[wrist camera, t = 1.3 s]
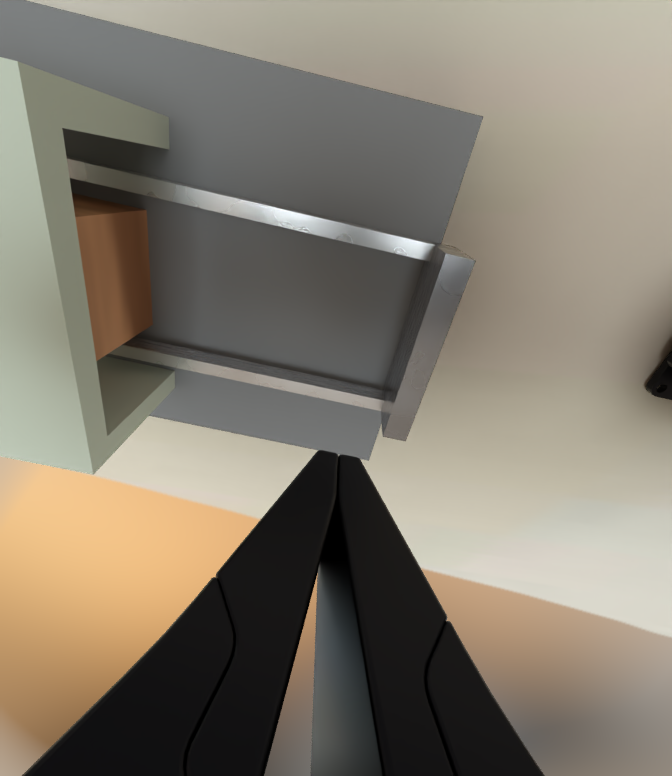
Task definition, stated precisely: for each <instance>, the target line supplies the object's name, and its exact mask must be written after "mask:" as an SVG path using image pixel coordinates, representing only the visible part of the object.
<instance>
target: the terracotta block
mask: <svg viewBox="0 0 672 776" xmlns="http://www.w3.org/2000/svg"><path fill="white" fill-rule="evenodd" d="M72 198H73V205H74V212H75V219H76V226H77V232H78V239H79V246H80V253H81V260H82V267H83V273H84V280H85V287H86V294H87V301H88V308H89V314H90V321H91V328H92V335H93V342H94V349H95V355H96V361H98V360H99V359H101V358H102V357H104V356H105V355H107V354H108V353H110V352H111V351H113V350H114V349H116V348H118V347H119V346H121V345H122V344H124V343H125V342H127V341H128V340H130V339H131V338H133V337H134V336H136V335H138V334H139V333H141V332H142V331H144V330H145V329H147V328H148V327H150V326H151V325H153V319H152V301H151V282H150V264H149V246H148V227H147V210H144V209H140V208H136V207H131V206H127V205H123V204H118V203H114V202H110V201H105V200H101V199H97V198H92V197H88V196H84V195H79V194H75V193H72Z"/></svg>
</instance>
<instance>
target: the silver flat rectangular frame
mask: <svg viewBox="0 0 672 776" xmlns="http://www.w3.org/2000/svg"><path fill="white" fill-rule="evenodd" d="M66 157H67V164H68V171H69V178H73V179H77V180H81V181H86V182H90V183H94V184H99V185H103V186H107V187H112V188H116V189H120V190H124V191H129V192H133V193H137V194H142V195H146V196H150V197H155V198H159V199H163V200H167V201H172V202H176V203H180V204H185V205H189V206H193V207H198V208H202V209H206V210H210V211H215V212H219V213H223V214H228V215H232V216H236V217H241V218H245V219H249V220H253V221H258V222H262V223H266V224H271V225H275V226H279V227H283V228H288V229H292V230H296V231H301V232H305V233H309V234H314V235H318V236H322V237H326V238H331V239H335V240H339V241H344V242H348V243H352V244H357V245H361V246H365V247H369V248H374V249H378V250H382V251H387V252H391V253H395V254H400V255H404V256H408V257H412V258H417V259H421V260H424V263H423V266H422V270H421V273H420V276H419V279H418V282H417V285H416V288H415V292H414V295H413V298H412V301H411V304H410V307H409V310H408V313H407V317H406V320H405V323H404V326H403V329H402V332H401V335H400V339H399V342H398V345H397V348H396V351H395V354H394V357H393V361H392V364H391V367H390V370H389V373H388V376H387V379H386V383H385V386H384V389H383V390H380V389H375V388H371V387H366V386H361V385H357V384H352V383H347V382H343V381H338V380H333V379H329V378H324V377H319V376H315V375H310V374H305V373H301V372H296V371H291V370H287V369H282V368H277V367H273V366H268V365H263V364H259V363H254V362H249V361H245V360H240V359H235V358H231V357H226V356H221V355H217V354H212V353H207V352H203V351H198V350H193V349H189V348H184V347H179V346H175V345H170V344H165V343H161V342H156V341H151V340H147V339H142V338H137V337H133V338H131V339H130V340H128V341H127V342H125V343H124V344H122V345H121V346H119V347H118V348H116V349H114V350H113V351H111V352H110V353H108V354H113V355H118V356H122V357H127V358H132V359H137V360H141V361H146V362H151V363H156V364H160V365H165V366H170V367H175V368H179V369H184V370H189V371H193V372H198V373H203V374H208V375H212V376H217V377H222V378H227V379H231V380H236V381H241V382H246V383H250V384H255V385H260V386H264V387H269V388H274V389H279V390H283V391H288V392H293V393H298V394H302V395H307V396H312V397H316V398H321V399H326V400H331V401H335V402H340V403H345V404H350V405H354V406H359V407H364V408H369V409H373V410H378V411H381V419H382V431H383V437H388V438H392V439H397V440H402V441H406V439H407V436H408V434H409V431H410V428H411V426H412V423H413V421H414V418H415V415H416V413H417V410H418V408H419V405H420V403H421V400H422V397H423V395H424V392H425V390H426V387H427V385H428V382H429V379H430V377H431V374H432V372H433V369H434V366H435V364H436V361H437V359H438V356H439V354H440V351H441V348H442V346H443V343H444V341H445V338H446V336H447V333H448V330H449V328H450V325H451V323H452V320H453V317H454V315H455V312H456V310H457V307H458V305H459V302H460V299H461V297H462V294H463V292H464V289H465V287H466V284H467V281H468V279H469V276H470V274H471V271H472V269H473V266H474V263H475V261H476V260H474V259H472V258H471V257H469V256H468V255H466V254H465V253H463V252H461V251H460V250H458V249H457V248H455V247H452V246H447V245H443V244H439V243H435V242H430V241H426V240H422V239H418V238H413V237H409V236H405V235H401V234H396V233H392V232H388V231H384V230H379V229H375V228H371V227H367V226H362V225H358V224H354V223H350V222H345V221H341V220H337V219H333V218H328V217H324V216H320V215H316V214H311V213H307V212H303V211H299V210H294V209H290V208H286V207H282V206H277V205H273V204H269V203H265V202H260V201H256V200H252V199H248V198H243V197H239V196H235V195H231V194H226V193H222V192H218V191H214V190H209V189H205V188H201V187H197V186H192V185H188V184H184V183H180V182H175V181H171V180H167V179H163V178H158V177H154V176H150V175H146V174H141V173H137V172H133V171H129V170H124V169H120V168H116V167H112V166H107V165H103V164H99V163H95V162H90V161H86V160H82V159H78V158H73V157H69V156H66Z"/></svg>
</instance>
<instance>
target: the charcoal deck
mask: <svg viewBox="0 0 672 776" xmlns="http://www.w3.org/2000/svg"><path fill="white" fill-rule="evenodd" d="M0 57H2V58H6V59H10V60H14V61H18V62H21V63H23V64H26V65H29V66H32V67H34V68H37V69H40V70H42V71H45V72H48V73H51V74H53V75H56V76H59V77H61V78H64V79H67V80H70V81H72V82H75V83H78V84H80V85H83V86H86V87H88V88H91V89H94V90H97V91H99V92H102V93H105V94H107V95H110V96H113V97H116V98H118V99H121V100H124V101H126V102H129V103H132V104H135V105H137V106H140V107H143V108H145V109H148V110H151V111H154V112H156V113H159V114H162V115H164V116H167V117H169V149H165V148H160V147H155V146H150V145H145V144H140V143H135V142H130V141H125V140H120V139H115V138H110V137H105V136H100V135H95V134H90V133H85V132H80V131H76V130H71V129H66V128H62V130H63V137H64V143H65V150H66V156H69V157H73V158H78V159H82V160H86V161H90V162H95V163H99V164H103V165H107V166H112V167H116V168H120V169H124V170H129V171H133V172H137V173H141V174H146V175H150V176H154V177H158V178H163V179H167V180H171V181H175V182H180V183H184V184H188V185H192V186H197V187H201V188H205V189H209V190H214V191H218V192H222V193H226V194H231V195H235V196H239V197H243V198H248V199H252V200H256V201H260V202H265V203H269V204H273V205H277V206H282V207H286V208H290V209H294V210H299V211H303V212H307V213H311V214H316V215H320V216H324V217H328V218H333V219H337V220H341V221H345V222H350V223H354V224H358V225H362V226H367V227H371V228H375V229H379V230H384V231H388V232H392V233H396V234H401V235H405V236H409V237H413V238H418V239H422V240H426V241H430V242H435V243H439V244H441V242H442V239H443V236H444V233H445V230H446V227H447V224H448V221H449V218H450V215H451V212H452V209H453V206H454V203H455V200H456V197H457V194H458V191H459V188H460V185H461V182H462V179H463V176H464V173H465V170H466V167H467V164H468V161H469V158H470V155H471V152H472V149H473V146H474V143H475V140H476V137H477V134H478V131H479V128H480V125H481V122H482V119H483V116H479V115H475V114H471V113H467V112H463V111H459V110H455V109H451V108H447V107H443V106H440V105H436V104H432V103H428V102H424V101H420V100H416V99H412V98H408V97H404V96H400V95H396V94H392V93H388V92H384V91H380V90H376V89H373V88H369V87H365V86H361V85H357V84H353V83H349V82H345V81H341V80H337V79H333V78H329V77H325V76H321V75H317V74H313V73H309V72H306V71H302V70H298V69H294V68H290V67H286V66H282V65H278V64H274V63H270V62H266V61H262V60H258V59H254V58H250V57H246V56H242V55H238V54H235V53H231V52H227V51H223V50H219V49H215V48H211V47H207V46H203V45H199V44H195V43H191V42H187V41H183V40H179V39H175V38H171V37H168V36H164V35H160V34H156V33H152V32H148V31H144V30H140V29H136V28H132V27H128V26H124V25H120V24H116V23H112V22H108V21H104V20H101V19H97V18H93V17H89V16H85V15H81V14H77V13H73V12H69V11H65V10H61V9H57V8H53V7H49V6H45V5H41V4H37V3H33V2H30V1H26V0H0ZM70 184H71V191H72V193H75V194H79V195H84V196H88V197H92V198H97V199H101V200H105V201H110V202H114V203H118V204H123V205H127V206H131V207H136V208H140V209H144V210H147V227H148V246H149V264H150V282H151V301H152V319H153V325H151V326H150V327H148V328H147V329H145V330H144V331H142V332H141V333H139V334H138V335H136V336H134V337H137V338H142V339H147V340H151V341H156V342H161V343H165V344H170V345H175V346H179V347H184V348H189V349H193V350H198V351H203V352H207V353H212V354H217V355H221V356H226V357H231V358H235V359H240V360H245V361H249V362H254V363H259V364H263V365H268V366H273V367H277V368H282V369H287V370H291V371H296V372H301V373H305V374H310V375H315V376H319V377H324V378H329V379H333V380H338V381H343V382H347V383H352V384H357V385H361V386H366V387H371V388H375V389H380V390H383V389H384V386H385V383H386V379H387V376H388V373H389V370H390V367H391V364H392V361H393V357H394V354H395V351H396V348H397V345H398V342H399V339H400V335H401V332H402V329H403V326H404V323H405V320H406V317H407V313H408V310H409V307H410V304H411V301H412V298H413V295H414V292H415V288H416V285H417V282H418V279H419V276H420V273H421V270H422V266H423V263H424V260H421V259H417V258H412V257H408V256H404V255H400V254H395V253H391V252H387V251H382V250H378V249H374V248H369V247H365V246H361V245H357V244H352V243H348V242H344V241H339V240H335V239H331V238H326V237H322V236H318V235H314V234H309V233H305V232H301V231H296V230H292V229H288V228H283V227H279V226H275V225H271V224H266V223H262V222H258V221H253V220H249V219H245V218H241V217H236V216H232V215H228V214H223V213H219V212H215V211H210V210H206V209H202V208H198V207H193V206H189V205H185V204H180V203H176V202H172V201H167V200H163V199H159V198H155V197H150V196H146V195H142V194H137V193H133V192H129V191H124V190H120V189H116V188H112V187H107V186H103V185H99V184H94V183H90V182H86V181H81V180H77V179H73V178H70ZM105 356H106V357H111V358H116V359H121V360H125V361H130V362H135V363H139V364H144V365H149V366H154V367H158V368H163V369H168V370H173V371H175V388H174V389H173V390H172V391H171V392H170V393H169V395H168V396H167V397H166V398H165V399H164V400H163V401H162V402H161V403H160V404H159V405H158V406H157V407H156V408H155V409H154V410H153V412H152V413H151V414H150V415H149V416H153V417H158V418H163V419H168V420H173V421H178V422H183V423H188V424H192V425H197V426H202V427H207V428H212V429H217V430H222V431H227V432H232V433H236V434H241V435H246V436H251V437H256V438H261V439H266V440H271V441H276V442H280V443H285V444H290V445H295V446H300V447H305V448H310V449H315V450H325V451H330V452H335V453H337V454H339V455H341V454H344V455H349V456H354V457H358V458H359V459H364V460H369V458H370V455H371V452H372V449H373V446H374V443H375V440H376V437H377V434H378V431H379V428H380V425H381V422H382V419H381V411H378V410H373V409H369V408H364V407H359V406H354V405H350V404H345V403H340V402H335V401H331V400H326V399H321V398H316V397H312V396H307V395H302V394H298V393H293V392H288V391H283V390H279V389H274V388H269V387H264V386H260V385H255V384H250V383H246V382H241V381H236V380H231V379H227V378H222V377H217V376H212V375H208V374H203V373H198V372H193V371H189V370H184V369H179V368H175V367H170V366H165V365H160V364H156V363H151V362H146V361H141V360H137V359H132V358H127V357H122V356H118V355H113V354H107V355H105Z"/></svg>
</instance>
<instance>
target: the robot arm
mask: <svg viewBox="0 0 672 776" xmlns="http://www.w3.org/2000/svg"><path fill="white" fill-rule="evenodd" d="M660 385H661V386H660ZM658 386H660V387H659V388H657V387H658ZM646 390H647V391H648V392H649V393H651V394H652V395H654V396H657V397H661V398H666V399H670V400H672V351H671V352H670V354H669V355H668V356H667V358H666V359H665V360H664V362H663V363H662V364H661V366H660V367H659V369H658V370H657V371H656V373H655V374H654V375H653V377H652V378H651V379H650V381H649V382H648V383H647V385H646ZM317 573H318V578H317V579H318V580H317V582H318V583H317V608H316V636H315V665H314V693H313V722H312V750H311V776H545V775H544V774H543V772H542V771H541V769H540V768H539V766H538V765H537V763H536V762H535V760H534V759H533V757H532V756H531V754H530V753H529V751H528V750H527V748H526V746H525V745H524V743H523V742H522V741H521V739H520V737H519V736H518V734H517V733H516V731H515V729H514V728H513V726H512V725H511V723H510V721H509V720H508V718H507V717H506V715H505V714H504V712H503V710H502V709H501V708H500V706H499V704H498V703H497V701H496V699H495V698H494V696H493V695H492V693H491V692H490V690H489V688H488V686H487V685H486V683H485V681H484V680H483V678H482V676H481V674H480V673H479V671H478V669H477V668H476V666H475V664H474V663H473V661H472V659H471V657H470V656H469V654H468V652H467V651H466V649H465V647H464V645H463V644H462V642H461V640H460V638H459V636H458V635H457V633H456V631H455V629H454V627H453V626H452V624H451V622H450V621H446V620H447V615H446V613H445V611H444V610H443V608H442V606H441V604H440V603H439V601H438V599H437V597H436V595H435V594H434V592H433V590H432V588H431V586H430V584H429V583H428V581H427V579H426V577H425V575H424V574H423V572H422V570H421V568H420V566H419V565H418V563H417V561H416V559H415V557H414V556H413V554H412V552H411V550H410V548H409V547H408V545H407V543H406V541H405V539H404V538H403V536H402V534H401V532H400V530H399V529H398V527H397V525H396V523H395V521H394V520H393V518H392V516H391V514H390V512H389V511H388V509H387V507H386V505H385V503H384V502H383V500H382V498H381V496H380V494H379V493H378V491H377V489H376V487H375V485H374V484H373V482H372V480H371V478H370V476H369V475H368V473H367V471H366V469H365V467H364V466H363V464H362V462H361V460H360V459H359V458H358V457H354V456H349V455H344V454H341V455H339V457H338V454H337V453H335V452H330V451H325V450H319V451H317V453H316V454H315V455H314V456H313V457H312V459H311V460H310V461H309V462H308V463H307V465H306V466H305V467H304V468H303V469H302V471H301V472H300V473H299V474H298V475H297V477H296V478H295V479H294V480H293V481H292V483H291V484H290V485H289V486H288V487H287V489H286V490H285V491H284V492H283V494H282V495H281V496H280V497H279V498H278V500H277V501H276V502H275V503H274V504H273V506H272V507H271V508H270V509H269V510H268V512H267V513H266V514H265V515H264V516H263V518H262V519H261V520H260V521H259V522H258V524H257V525H256V526H255V527H254V529H253V530H252V531H251V532H250V533H249V535H248V536H247V537H246V538H245V539H244V541H243V542H242V543H241V544H240V546H239V547H238V548H237V549H236V550H235V551H234V553H233V554H232V555H231V556H230V557H229V559H228V560H227V561H226V562H225V563H224V565H223V566H222V567H221V568H220V570H219V571H218V572H217V574H216V578H215V577H213V578H212V579H211V580H210V581H209V582H208V584H207V585H206V586H205V587H204V588H203V590H202V591H201V592H200V593H199V594H198V596H197V597H196V598H195V599H194V601H192V603H191V604H190V605H189V606H188V607H187V608H186V609H185V611H184V612H183V613H182V614H181V615H180V616H179V617H178V619H177V620H176V621H175V622H174V623H173V624H172V626H170V628H169V629H168V630H167V631H166V632H165V633H164V634H163V635H162V636H161V637H160V638H159V640H158V641H157V642H156V643H155V644H154V645H153V646H152V647H151V648H150V649H149V650H148V651H147V652H146V653H145V654H144V655H143V656H142V657H141V658H140V659H139V660H138V661H137V662H136V663H135V664H134V665H133V666H132V668H130V669H129V670H128V671H127V673H126V674H125V675H124V676H123V677H122V678H121V679H119V681H118V682H116V684H114V686H112V688H110V689H109V690H108V691H107V692H106V693H105V695H103V696H102V697H101V698H100V699H99V700H98V701H97V702H96V703H95V704H94V705H93V706H92V707H91V708H90V709H89V710H88V711H87V712H86V713H85V714H84V715H83V716H82V717H81V718H80V719H79V720H78V721H77V722H76V723H75V724H74V725H73V726H72V727H71V728H70V729H69V730H68V731H67V732H66V733H65V734H64V735H63V736H62V737H61V738H60V739H59V740H58V741H57V742H56V743H55V744H54V745H52V746H51V747H50V748H49V749H48V750H47V751H46V752H45V753H44V754H43V755H42V756H41V757H40V759H38V760H37V761H36V762H35V763H34V764H33V765H32V766H31V767H30V768H29V769H28V770H27V771H26V772H25V773H24V774H23V775H22V776H264V774H265V769H266V766H267V762H268V758H269V755H270V751H271V747H272V743H273V739H274V736H275V732H276V728H277V724H278V720H279V717H280V712H281V709H282V705H283V701H284V697H285V694H286V690H287V686H288V683H289V679H290V675H291V671H292V667H293V663H294V660H295V656H296V652H297V648H298V645H299V641H300V637H301V633H302V629H303V626H304V622H305V618H306V614H307V610H308V607H309V603H310V599H311V595H312V591H313V588H314V584H315V580H316V576H317Z"/></svg>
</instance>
